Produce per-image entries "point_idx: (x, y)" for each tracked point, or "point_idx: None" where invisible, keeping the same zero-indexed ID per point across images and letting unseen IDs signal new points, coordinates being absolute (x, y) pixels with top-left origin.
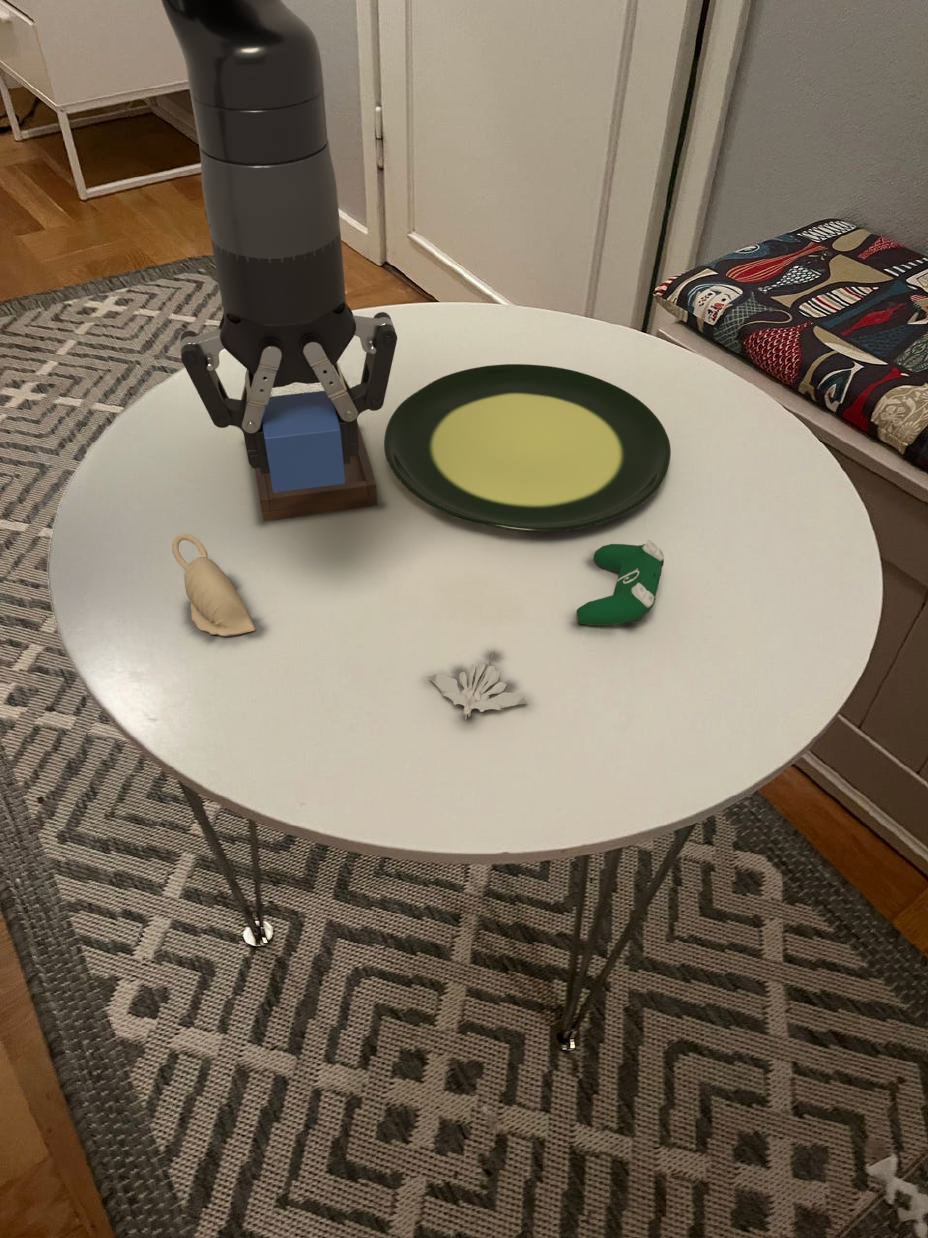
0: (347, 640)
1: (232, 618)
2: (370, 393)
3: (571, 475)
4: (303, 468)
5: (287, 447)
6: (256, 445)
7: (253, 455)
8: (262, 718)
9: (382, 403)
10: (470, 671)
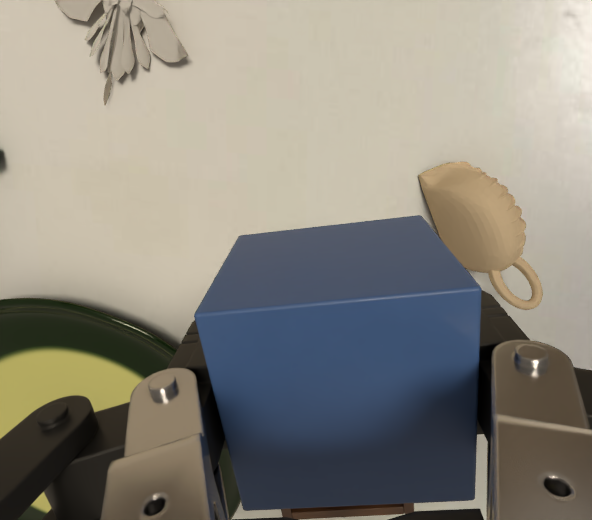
0: (298, 148)
1: (453, 176)
2: (41, 452)
3: (23, 395)
4: (339, 244)
5: (389, 273)
6: (486, 315)
7: (482, 307)
8: (417, 4)
9: (30, 415)
10: (128, 57)
